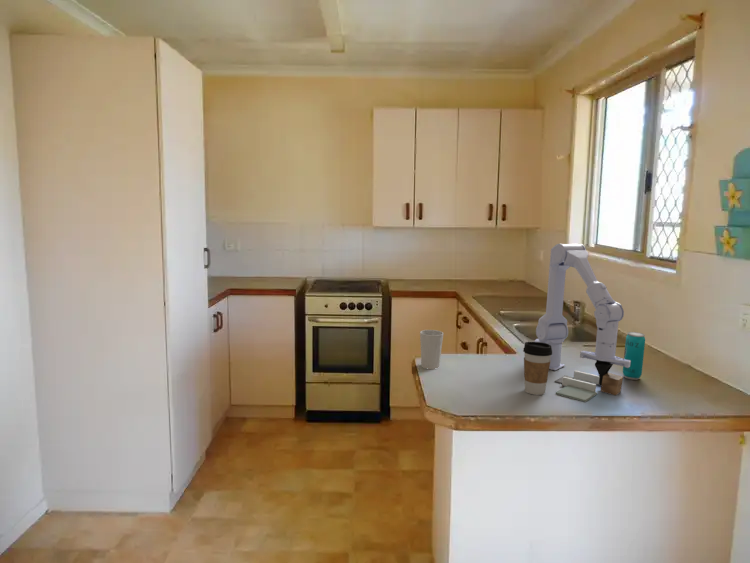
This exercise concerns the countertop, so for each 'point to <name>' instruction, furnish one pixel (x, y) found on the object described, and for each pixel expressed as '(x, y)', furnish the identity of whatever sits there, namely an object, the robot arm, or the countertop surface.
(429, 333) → the cup
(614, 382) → the block
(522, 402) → the countertop surface
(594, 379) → the white u-shaped frame
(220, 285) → the countertop surface
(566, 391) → the coaster
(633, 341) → the beverage can
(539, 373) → the coffee cup
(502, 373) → the countertop surface
